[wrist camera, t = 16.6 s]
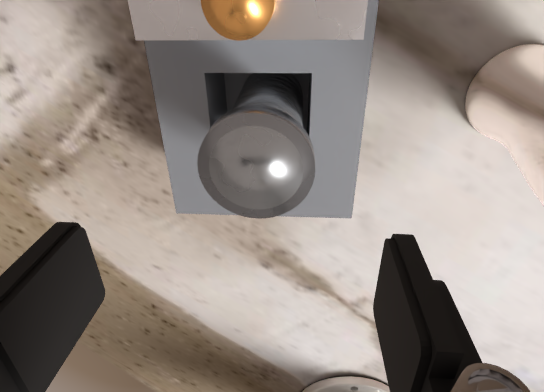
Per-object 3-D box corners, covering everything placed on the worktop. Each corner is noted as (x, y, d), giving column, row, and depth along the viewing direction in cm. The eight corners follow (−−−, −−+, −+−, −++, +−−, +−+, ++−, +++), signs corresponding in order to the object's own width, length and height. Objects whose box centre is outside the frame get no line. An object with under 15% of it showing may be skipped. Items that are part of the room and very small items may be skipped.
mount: (342, 171, 28) (351, 218, 22) (198, 168, 28) (176, 213, 23) (360, -11, 21) (379, -4, 16) (174, -9, 22) (136, -1, 17)
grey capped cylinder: (309, 133, 25) (312, 220, 17) (237, 132, 25) (204, 216, 17) (312, 57, 22) (318, 113, 14) (231, 57, 23) (189, 112, 14)
